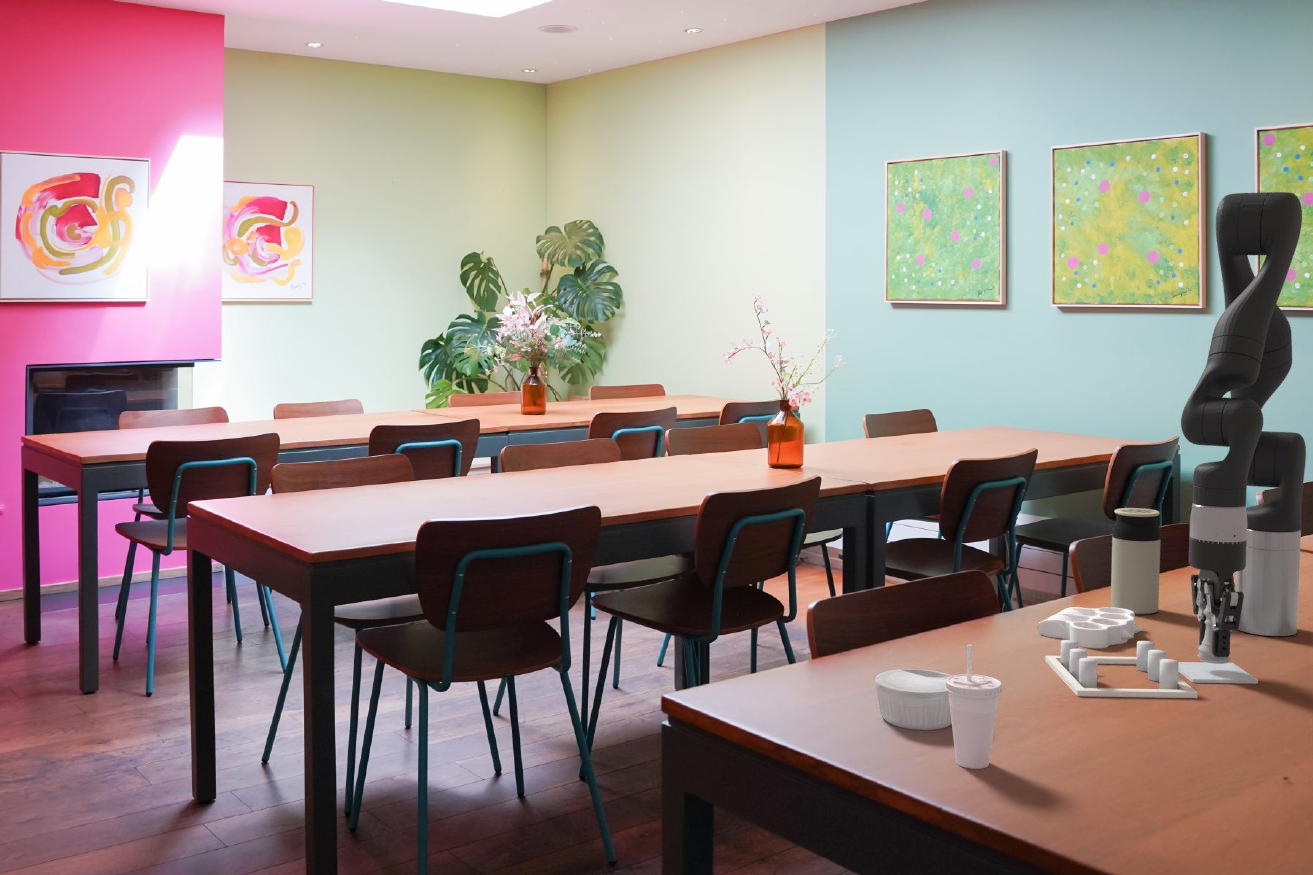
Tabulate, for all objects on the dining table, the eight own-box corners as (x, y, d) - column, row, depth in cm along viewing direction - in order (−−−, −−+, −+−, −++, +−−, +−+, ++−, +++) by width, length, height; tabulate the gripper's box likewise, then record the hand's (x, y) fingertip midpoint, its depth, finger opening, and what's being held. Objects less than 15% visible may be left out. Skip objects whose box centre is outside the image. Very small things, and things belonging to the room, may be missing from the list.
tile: (1170, 665, 180) (1170, 661, 180) (1232, 666, 179) (1232, 662, 179) (1192, 682, 171) (1192, 679, 171) (1257, 683, 170) (1258, 680, 170)
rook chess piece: (1234, 665, 172) (1236, 610, 171) (1201, 663, 173) (1202, 608, 172) (1226, 656, 176) (1228, 603, 176) (1193, 655, 177) (1195, 602, 177)
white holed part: (1067, 619, 210) (1155, 632, 201) (1029, 641, 196) (1121, 655, 187) (1068, 601, 210) (1155, 612, 201) (1029, 620, 196) (1121, 634, 187)
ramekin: (966, 710, 159) (967, 671, 159) (958, 737, 148) (959, 695, 148) (881, 702, 163) (881, 664, 162) (868, 728, 152) (868, 687, 152)
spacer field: (1045, 660, 183) (1045, 634, 182) (1153, 662, 181) (1154, 636, 181) (1077, 696, 165) (1077, 667, 164) (1197, 698, 163) (1198, 669, 163)
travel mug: (1165, 615, 211) (1168, 514, 210) (1120, 615, 212) (1122, 514, 210) (1147, 605, 219) (1150, 507, 218) (1103, 605, 219) (1106, 507, 218)
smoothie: (936, 754, 142) (938, 638, 141) (989, 752, 143) (991, 637, 142) (954, 773, 136) (956, 652, 135) (1009, 771, 136) (1012, 651, 135)
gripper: (1266, 544, 166) (1261, 665, 167) (1225, 527, 180) (1221, 639, 181) (1209, 543, 166) (1205, 664, 168) (1173, 527, 181) (1170, 639, 182)
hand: (1214, 651), depth 175 cm, fingers closed on rook chess piece, 4 cm apart
